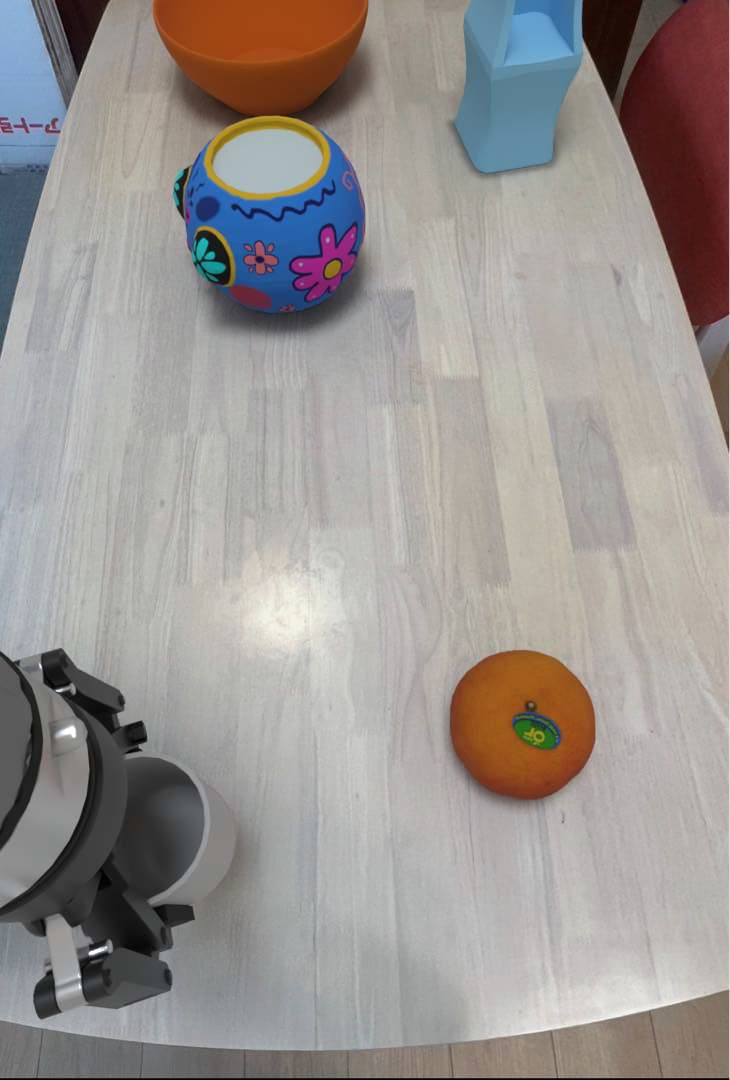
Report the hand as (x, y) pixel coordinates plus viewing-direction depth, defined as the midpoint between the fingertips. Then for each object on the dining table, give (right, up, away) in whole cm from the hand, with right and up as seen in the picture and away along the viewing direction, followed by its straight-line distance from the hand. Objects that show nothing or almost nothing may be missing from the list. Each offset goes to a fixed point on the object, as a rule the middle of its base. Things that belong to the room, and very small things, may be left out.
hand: (157, 848), depth 44 cm
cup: (0, 0, +1) cm, 1 cm away
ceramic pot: (+3, +46, +37) cm, 59 cm away
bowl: (0, +76, +52) cm, 93 cm away
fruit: (+24, +3, +15) cm, 28 cm away
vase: (+29, +66, +47) cm, 86 cm away
